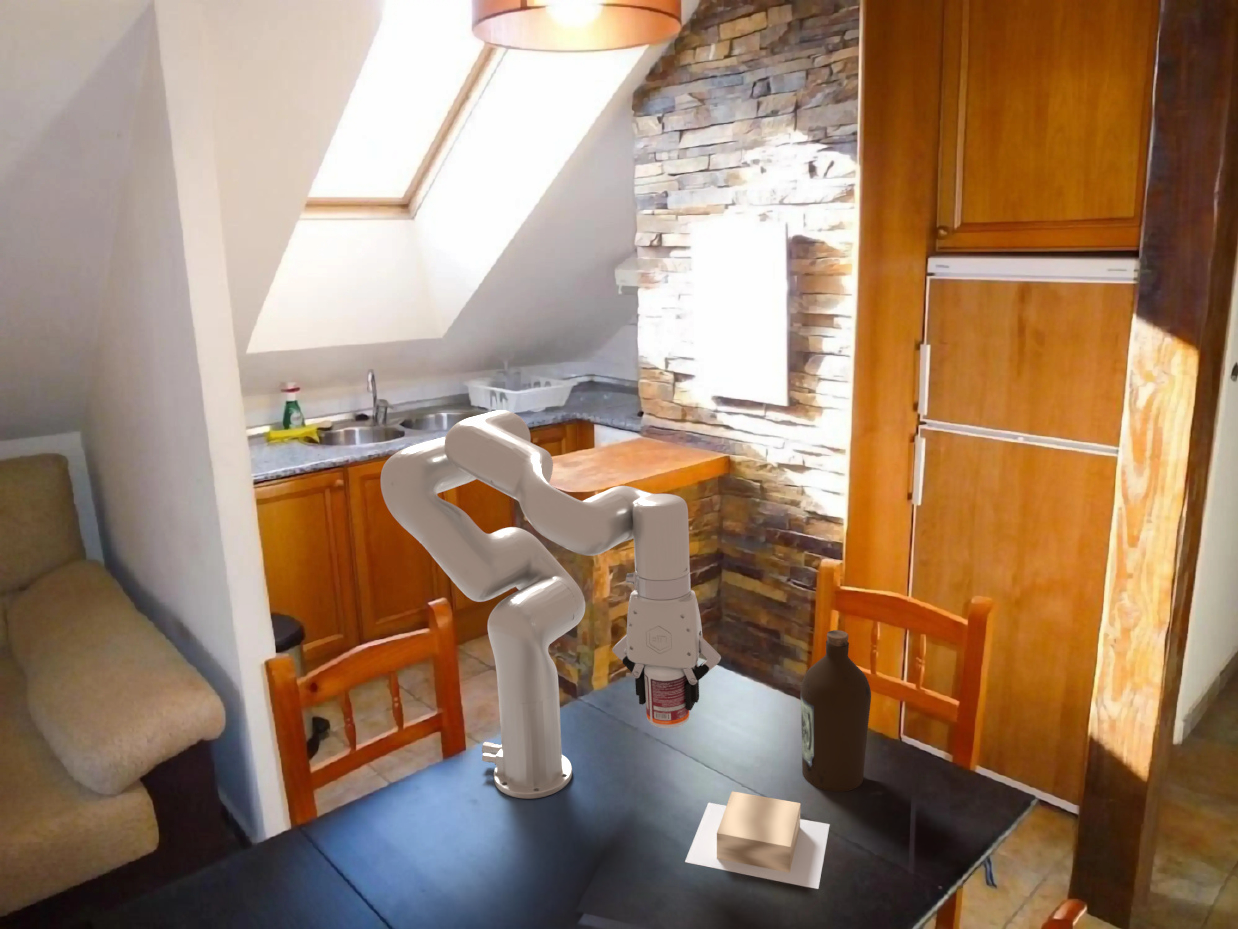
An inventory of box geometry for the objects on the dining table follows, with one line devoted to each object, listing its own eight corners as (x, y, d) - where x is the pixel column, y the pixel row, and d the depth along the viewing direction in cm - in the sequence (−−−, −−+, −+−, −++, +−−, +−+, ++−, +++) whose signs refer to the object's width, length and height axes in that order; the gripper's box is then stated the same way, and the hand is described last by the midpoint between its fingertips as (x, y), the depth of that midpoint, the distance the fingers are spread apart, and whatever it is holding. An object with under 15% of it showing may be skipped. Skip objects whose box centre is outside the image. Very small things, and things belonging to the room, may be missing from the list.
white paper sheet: (684, 868, 123) (684, 862, 123) (708, 808, 136) (708, 802, 136) (818, 895, 118) (818, 889, 117) (829, 830, 130) (829, 824, 130)
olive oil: (859, 761, 147) (865, 619, 141) (873, 800, 137) (881, 649, 131) (794, 760, 148) (797, 619, 142) (803, 799, 138) (807, 649, 132)
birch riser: (716, 858, 124) (716, 833, 123) (731, 815, 133) (731, 791, 132) (789, 873, 120) (790, 847, 119) (799, 827, 130) (800, 803, 129)
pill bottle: (698, 720, 127) (696, 647, 125) (663, 734, 124) (660, 659, 122) (672, 704, 132) (669, 632, 130) (638, 717, 129) (634, 644, 127)
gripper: (594, 589, 123) (601, 708, 127) (718, 599, 117) (721, 723, 121) (613, 570, 130) (619, 684, 134) (730, 579, 124) (733, 697, 128)
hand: (667, 701), depth 128 cm, fingers closed on pill bottle, 6 cm apart
